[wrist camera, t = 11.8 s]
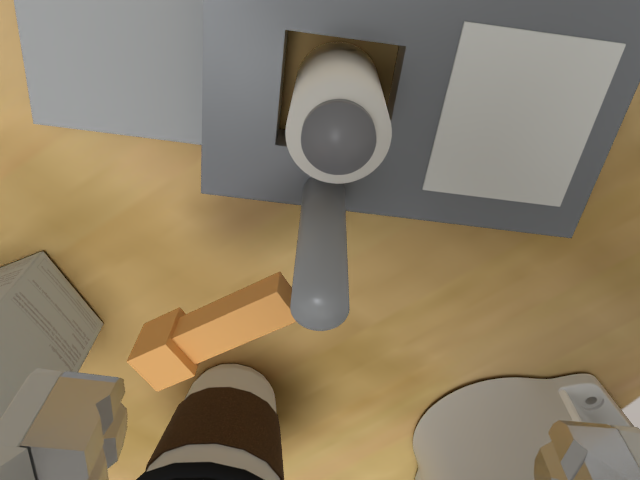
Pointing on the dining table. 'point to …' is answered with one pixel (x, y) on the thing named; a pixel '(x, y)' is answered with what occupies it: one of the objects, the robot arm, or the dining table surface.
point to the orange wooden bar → (209, 331)
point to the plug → (338, 115)
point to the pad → (115, 65)
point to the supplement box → (40, 323)
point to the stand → (425, 118)
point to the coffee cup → (222, 431)
